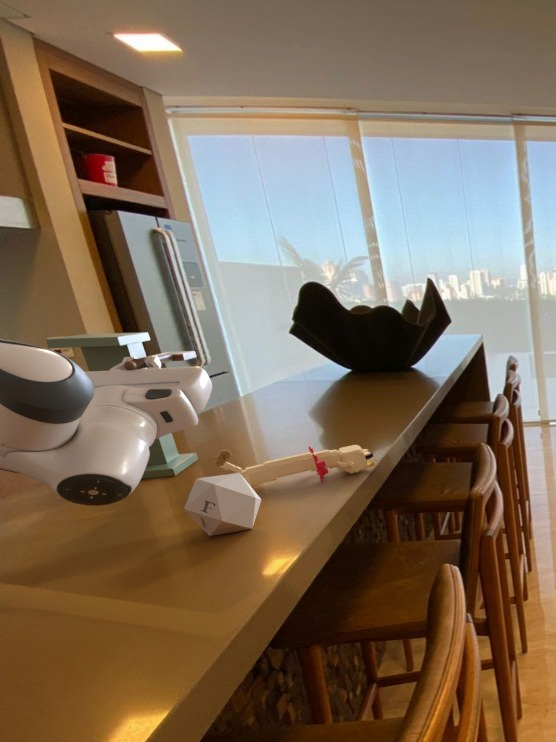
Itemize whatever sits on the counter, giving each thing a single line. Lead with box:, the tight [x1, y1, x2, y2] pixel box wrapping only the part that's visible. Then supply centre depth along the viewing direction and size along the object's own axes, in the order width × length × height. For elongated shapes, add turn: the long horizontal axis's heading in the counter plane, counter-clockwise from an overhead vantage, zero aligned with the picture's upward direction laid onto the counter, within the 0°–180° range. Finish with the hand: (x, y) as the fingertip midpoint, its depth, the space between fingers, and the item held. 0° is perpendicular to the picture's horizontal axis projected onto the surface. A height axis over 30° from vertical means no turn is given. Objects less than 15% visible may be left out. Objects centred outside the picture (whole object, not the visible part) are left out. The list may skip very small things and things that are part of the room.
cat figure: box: [215, 444, 378, 488], centre depth 104 cm, size 10×9×25 cm
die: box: [183, 472, 262, 537], centre depth 83 cm, size 8×9×10 cm
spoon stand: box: [45, 331, 199, 480], centre depth 107 cm, size 12×14×26 cm
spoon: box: [124, 350, 197, 370], centre depth 98 cm, size 21×4×2 cm, turn 18°
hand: (143, 360), depth 94 cm, fingers closed on spoon, 1 cm apart
